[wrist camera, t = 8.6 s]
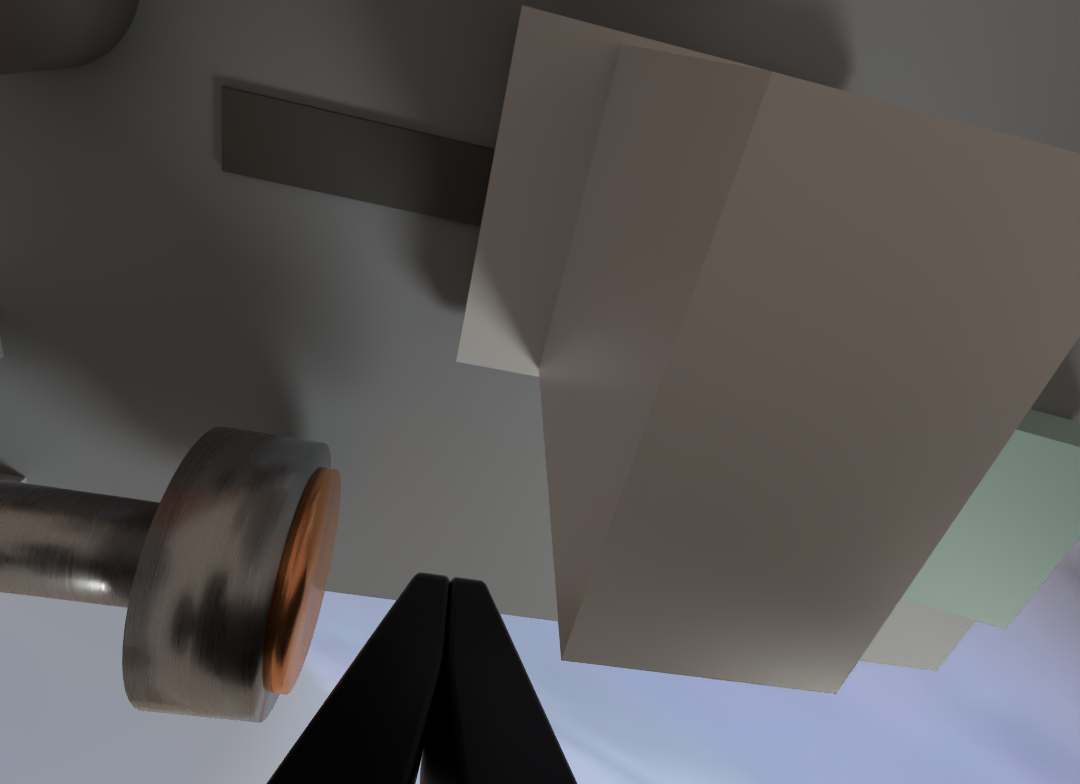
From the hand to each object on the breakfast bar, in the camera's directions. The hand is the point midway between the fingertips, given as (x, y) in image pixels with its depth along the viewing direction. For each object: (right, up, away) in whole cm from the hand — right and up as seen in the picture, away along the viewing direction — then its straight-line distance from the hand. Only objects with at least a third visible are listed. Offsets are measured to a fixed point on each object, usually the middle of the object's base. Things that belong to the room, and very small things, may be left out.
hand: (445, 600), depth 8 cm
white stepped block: (+2, +4, 0) cm, 5 cm away
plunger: (-4, +2, +1) cm, 5 cm away
